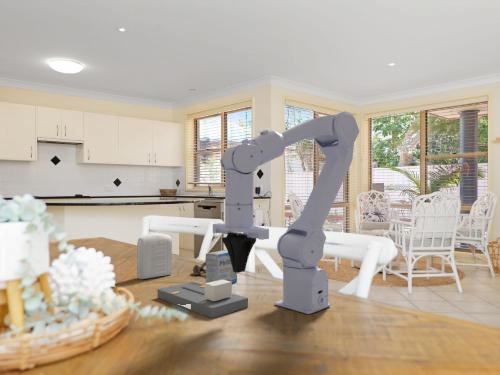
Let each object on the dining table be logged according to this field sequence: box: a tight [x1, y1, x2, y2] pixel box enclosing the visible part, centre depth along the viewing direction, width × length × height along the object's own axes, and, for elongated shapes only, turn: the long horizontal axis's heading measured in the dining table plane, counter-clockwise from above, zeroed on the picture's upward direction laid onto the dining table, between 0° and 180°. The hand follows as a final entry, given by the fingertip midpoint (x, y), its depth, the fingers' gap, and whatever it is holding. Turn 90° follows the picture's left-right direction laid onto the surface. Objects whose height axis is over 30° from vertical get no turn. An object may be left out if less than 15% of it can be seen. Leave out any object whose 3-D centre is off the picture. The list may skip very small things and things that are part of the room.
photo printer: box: [136, 232, 173, 280], centre depth 114 cm, size 10×4×12 cm, turn 134°
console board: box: [156, 281, 249, 319], centre depth 89 cm, size 20×10×2 cm, turn 45°
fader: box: [204, 279, 233, 301], centre depth 85 cm, size 3×5×3 cm, turn 135°
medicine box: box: [205, 249, 238, 285], centre depth 106 cm, size 8×4×9 cm, turn 143°
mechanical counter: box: [192, 261, 206, 276], centre depth 118 cm, size 7×13×10 cm
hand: (239, 271), depth 80 cm, fingers closed
